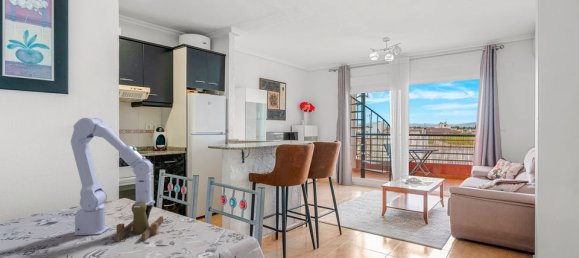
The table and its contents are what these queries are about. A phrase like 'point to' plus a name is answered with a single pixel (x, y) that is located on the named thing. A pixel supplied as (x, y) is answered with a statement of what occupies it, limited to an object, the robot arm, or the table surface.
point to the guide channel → (150, 231)
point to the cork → (139, 218)
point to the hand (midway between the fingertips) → (144, 224)
